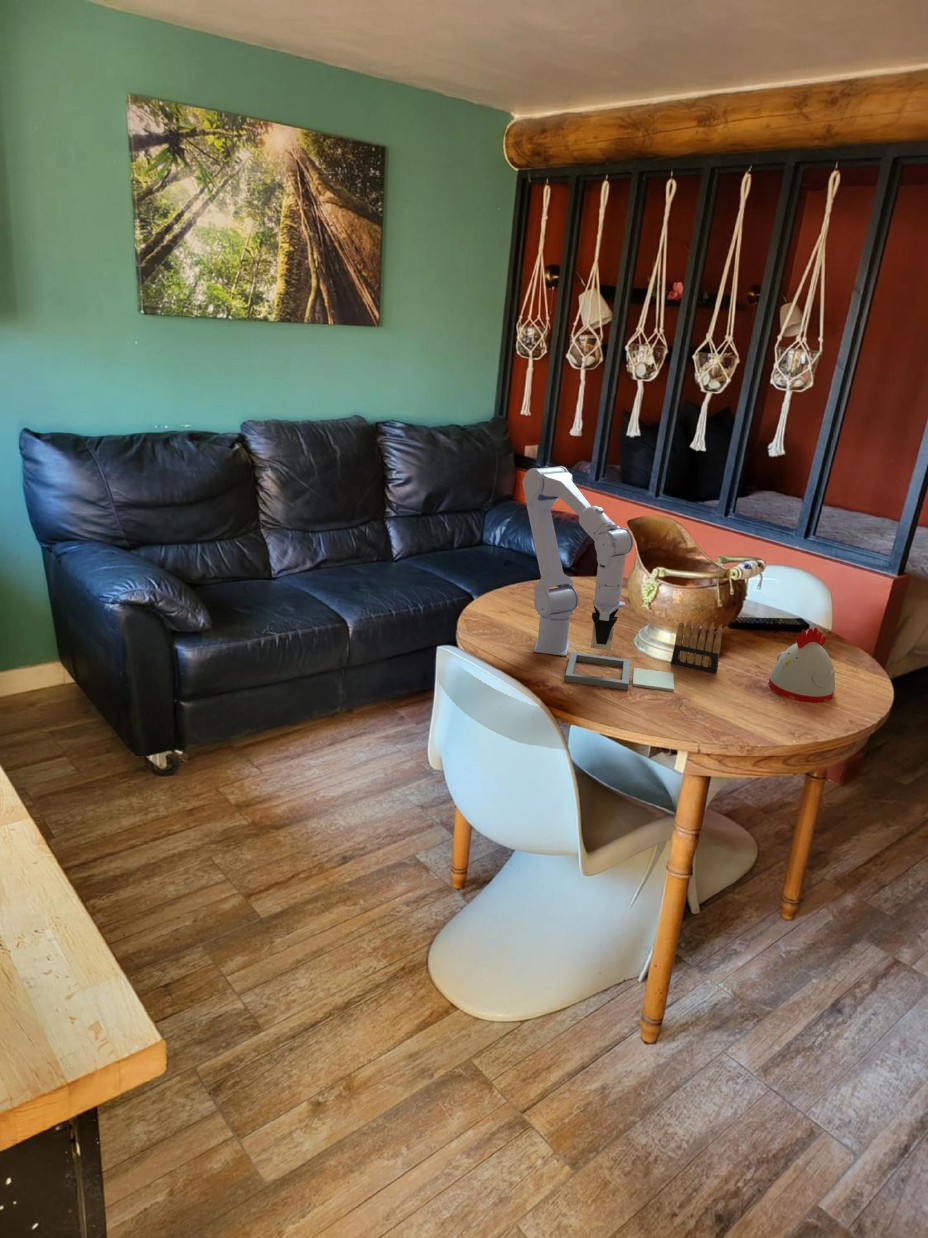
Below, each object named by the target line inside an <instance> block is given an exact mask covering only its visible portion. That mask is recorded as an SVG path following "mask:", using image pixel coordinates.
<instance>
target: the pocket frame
mask: <svg viewBox="0 0 928 1238" xmlns="http://www.w3.org/2000/svg"><path fill="white" fill-rule="evenodd" d="M577 662H583V663H590V664H598V665H605V666H613V667H620V668H622V673H621V679H618V678H617V679H616V678H609V677H603V676H595V675H589V674H588V675H587V674H582V673H581V674H580V673H574V672H575V668H576V664H577ZM630 669H631V659H627V658H620V657H613V656H606V655H605V656H604V655H598V654H589V653H583V652H576V651H571V652H570V655H569V659H568V663H567V667H566V671H565V675H564V676H565V677H564V682H569V683H576V684H583V685H590V686H597V687H598V686H599V687H605V688H612V689H619V690H625V691H628V690H629V683H630V672H631V671H630Z"/></svg>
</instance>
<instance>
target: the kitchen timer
mask: <svg viewBox="0 0 928 1238" xmlns="http://www.w3.org/2000/svg"><path fill="white" fill-rule="evenodd" d="M827 639H828V638H827V636H825V635H824V632H822V631H819V628H817V627H813V628H809V629H808V630H805V629H802V630H801V633H800V636H799V635H797V634H796V635H795V640H796V643H793V644H792V645H791V646H790V647H788V648H787V649H786V650H784V651H781V652H779V654H777V657H776V663H775V665H774V666H773V668H772V671H771V673H770V676H769V680H768V686H769V688H770V689H771V690H772V691H774V692H775V693H777V694H778V695H780V696H782V697H783V698H784V697H785V698H786V699H790V700H793V701H797V702H802V703H810V704H820V703H821V704H823V703H826V702H827V703H828V702H829V701H831V700H833V697H834V693H835V689H836V676H835V671H834V669H835V668H834V666H833V662H832V659H831V657H830V655H829V653H828V652H827V650H826V649H825V648H824V647H823V646H824V644H825V642H826V640H827Z"/></svg>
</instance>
